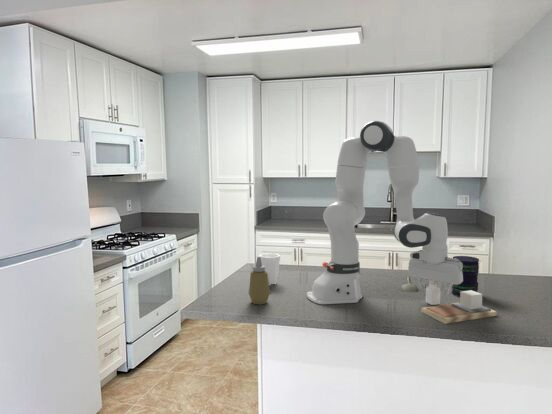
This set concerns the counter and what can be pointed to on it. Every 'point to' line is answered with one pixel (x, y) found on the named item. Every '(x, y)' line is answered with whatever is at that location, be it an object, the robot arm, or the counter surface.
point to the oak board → (457, 312)
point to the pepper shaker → (433, 293)
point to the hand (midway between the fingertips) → (434, 291)
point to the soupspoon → (409, 286)
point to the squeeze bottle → (259, 284)
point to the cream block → (471, 299)
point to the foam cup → (271, 266)
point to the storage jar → (467, 275)
